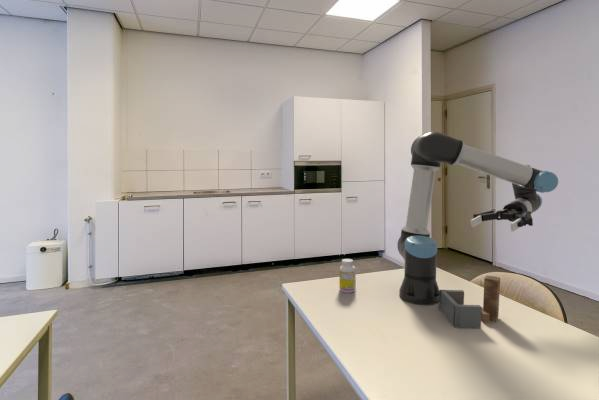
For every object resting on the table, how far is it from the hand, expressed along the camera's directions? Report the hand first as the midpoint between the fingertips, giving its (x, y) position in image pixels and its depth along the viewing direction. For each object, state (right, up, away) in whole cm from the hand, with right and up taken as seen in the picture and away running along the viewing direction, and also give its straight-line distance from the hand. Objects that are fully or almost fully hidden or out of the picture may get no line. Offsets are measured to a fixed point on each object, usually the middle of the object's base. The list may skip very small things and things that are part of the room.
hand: (491, 225), depth 122 cm
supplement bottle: (-48, -29, +22) cm, 60 cm away
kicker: (-6, -31, -6) cm, 32 cm away
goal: (-14, -31, -5) cm, 34 cm away
